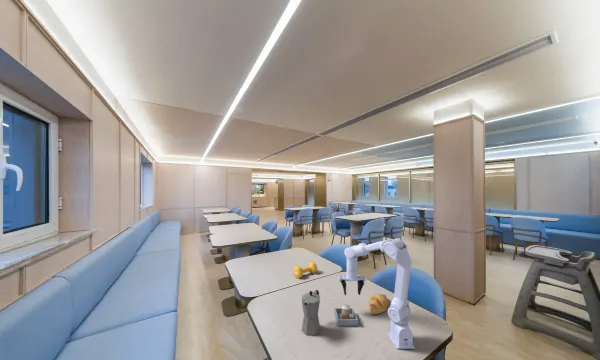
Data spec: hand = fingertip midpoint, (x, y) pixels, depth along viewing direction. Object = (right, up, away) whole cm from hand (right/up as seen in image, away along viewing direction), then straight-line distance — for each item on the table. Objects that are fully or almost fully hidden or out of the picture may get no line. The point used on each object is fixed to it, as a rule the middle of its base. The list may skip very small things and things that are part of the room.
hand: (352, 294), depth 112 cm
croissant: (+16, -11, +5) cm, 20 cm away
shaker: (-5, -9, -6) cm, 12 cm away
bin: (-5, -10, -6) cm, 13 cm away
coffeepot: (-23, -10, -13) cm, 28 cm away
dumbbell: (-24, -12, +47) cm, 54 cm away
